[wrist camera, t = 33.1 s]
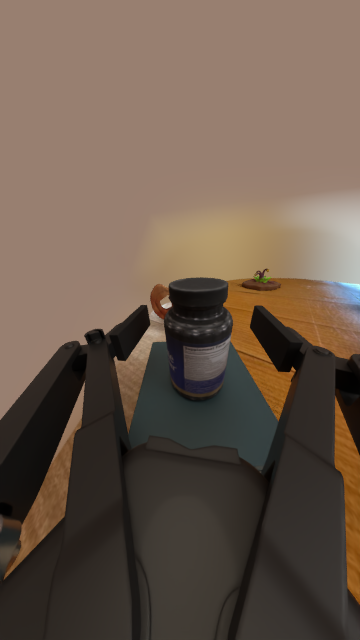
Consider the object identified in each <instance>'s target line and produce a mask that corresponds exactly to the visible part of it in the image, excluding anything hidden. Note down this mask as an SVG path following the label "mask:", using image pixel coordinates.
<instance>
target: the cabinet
mask: <svg viewBox="0 0 360 640" xmlns="http://www.w3.org/2000/svg"><path fill="white" fill-rule="evenodd" d="M277 426H278V420H277V419H276V417H275V415H274V414H273V412H272V410H271V408H270V407H269V405H268V403H267V402H266V400H265V398H264V397H263V395H262V393H261V392H260V390H259V388H258V387H257V385H256V383H255V382H254V380H253V378H252V377H251V375H250V373H249V372H248V370H247V368H246V367H245V365H244V363H243V362H242V360H241V358H240V357H239V355H238V353H237V352H236V350H235V348H234V347H233V345H232V343H231V342H230V344H229V351H228V357H227V364H226V370H225V376H224V383H223V386H222V388H221V390H220V391H219V392H218V394H216V395H215V396H214V397H212V398H210V399H207V400H190V399H187V398H185V397H183V396H182V395H180V393H179V392H178V391H177V390H176V389H175V388H174V386H173V385H172V382H171V376H170V368H169V360H168V351H167V343H166V342H153V344H152V347H151V351H150V355H149V359H148V362H147V366H146V370H145V374H144V377H143V381H142V385H141V389H140V392H139V396H138V400H137V404H136V407H135V411H134V415H133V419H132V422H131V426H130V430H129V434H128V437H129V441H130V444H131V448H134V447H136V446H137V445H140V444H142V443H146V442H147V441H148V437H149V435H151V436H158V437H164V438H170V439H172V440H174V441H175V442H177V443H179V444H181V445H183V446H185V447H187V448H189V449H196V448H201V447H207V446H212V445H217V446H224V447H230V448H237V449H238V454H239V457H241V458H243V459H244V460H246V461H247V462H249V463H250V464H251V465H253V466H254V467H255V468H256V469H257V470H258V471H262V469H263V467H264V464H265V462H266V459H267V456H268V453H269V450H270V447H271V444H272V441H273V438H274V435H275V432H276V429H277Z"/></svg>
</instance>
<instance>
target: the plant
mask: <svg viewBox="0 0 360 640" xmlns="http://www.w3.org/2000/svg"><path fill="white" fill-rule="evenodd" d="M265 270H266V271H267V272H269V269H265ZM265 270H264V271H263V273H261V272H260V271H257V272H256V274H255V276H256V275H257V274H259V275H260V277H259V276H257V277H254V278H255V280H254V279H251V280H248V281H245V282H243V283H242V286H243V287H246V288H249V289H255V290H275V289H277V288H280V286H281V284H279V283H277V282H275V281H268V279H270V278H271V277H269V278H266V276H264V272H265ZM258 272H260V273H258Z"/></svg>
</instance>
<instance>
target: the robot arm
mask: <svg viewBox="0 0 360 640" xmlns="http://www.w3.org/2000/svg"><path fill="white" fill-rule="evenodd" d="M149 326H150V319H149V314H148V308H147V305H141V306H140V307H139V308H138V309H137V310H135V311H134V312H133V313H132V314H131V315H130V316H129V317H128V318H127V319H126V320H125V321H124V322H122V323H120V324H118V325H116V326H115V327H114V328H113V329H112V330H111V331H110V332H109V333H107V334H106V335H104V332H103V330H102V329H94V330H92V331H89V332H87V333H86V334H85V335H84V336H85V338H86V340H87V343H88V344H87V345H80V343H79V342H78V341H72V342H68V343H65V344H64V345H62V346H61V347H60V348H59V349H58V351H57V352H56V353H55V354H54V355H53V357H52V358H51V359H50V360H49V362H48V363H47V364H46V365H45V366H44V368H43V369H42V370H41V371H40V373H39V374H38V375H37V376H36V377H35V379H34V380H33V381H32V382H31V383H30V385H29V386H28V387H27V388H26V390H25V391H24V392H23V393H22V394H21V396H20V397H19V398H18V399H17V400H16V402H15V403H14V404H13V405H12V407H11V408H10V409H9V410H8V412H7V413H6V414H5V415H4V416H3V418H2V419H1V420H0V640H360V604H359V603H358V602H357V600H356V599H355V598H354V596H353V595H352V594H351V592H350V591H349V590H348V588H347V563H346V531H345V499H344V481H343V476H342V474H341V472H339V471H338V470H337V469H336V468H335V464H334V448H335V396H336V398H337V401H338V403H339V406H340V408H341V411H342V413H343V415H344V418H345V420H346V423H347V425H348V428H349V430H350V433H351V435H352V437H353V440H354V442H355V445H356V447H357V450H358V452H359V455H360V354H353V355H352V356H351V357H350V359H344V358H340V357H335V355H334V354H333V353H332V352H331V351H329V350H327V349H325V348H322V347H319V346H313V345H312V344H311V343H309V342H308V341H307V340H306V339H305V338H303V337H302V336H301V335H300V334H299V333H297V332H296V331H295V330H294V329H292V328H290V327H285V326H284V325H283V324H282V323H281V322H280V321H279V320H278V319H276V318H275V317H274V316H273V315H272V314H271V313H270V312H269V311H268V310H266V309H265V308H264V307H263V306H254V311H253V315H252V320H251V324H250V328H251V330H252V331H253V333H254V334H255V336H256V338H257V339H258V341H259V342H260V344H261V345H262V347H263V348H264V350H265V352H266V353H267V355H268V356H269V358H270V359H271V361H272V362H273V364H274V366H275V367H276V369H277V370H278V372H290V370H291V368H292V366H293V368H294V369H295V370H296V371H295V373H294V375H293V377H292V379H291V385H290V388H289V392H288V395H287V398H286V401H285V404H284V407H283V410H282V413H281V416H280V419H279V422H278V426H277V429H276V432H275V435H274V438H273V441H272V444H271V447H270V450H269V453H268V456H267V459H266V462H265V464H264V467H263V469H262V471H261V473H260V472H259V471H258V470H257V469H256V468H255V467H254V466H253V465H251V464H250V463H249V462H247V461H246V460H244V459H243V458H241V457H239V454H238V449H237V448H230V447H224V446H217V445H212V446H207V447H201V448H196V449H189V448H187V447H185V446H183V445H181V444H179V443H177V442H175V441H174V440H172V439H170V438H164V437H158V436H151V435H149V437H148V441H147V442H146V443H142V444H140V445H137V446H136V447H134V448H131V444H130V441H129V437H128V432H127V427H126V421H125V416H124V410H123V405H122V399H121V394H120V389H119V383H118V378H117V372H116V367H115V362H114V357H115V356H116V357H117V359H118V360H119V361H126V360H127V358H128V357H129V355H130V354H131V352H132V351H133V349H134V348H135V347H136V345H137V344H138V342H139V341H140V339H141V338H142V336H143V335H144V333H145V332H146V330H147V329H148V327H149ZM84 381H85V390H84V402H83V415H82V426H81V429H79V430H77V431H76V433H75V436H74V443H73V451H72V460H71V468H70V477H69V486H68V494H67V503H66V511H65V517H64V518H63V519H62V520H61V521H60V522H59V523H58V524H57V525H56V526H55V527H54V528H53V529H52V530H51V531H50V532H49V534H48V535H47V536H46V537H45V538H44V539H43V540H42V541H41V542H40V543H39V544H38V545H37V546H36V547H35V548H34V549H33V550H32V551H31V552H30V553H29V554H28V555H27V557H26V558H25V559H24V560H23V561H22V562H21V563H20V564H19V565H18V566H17V567H16V568H15V569H14V570H13V571H12V572H11V573H10V574H9V575H8V576H7V577H6V578H5V579H4V577H5V573H6V572H7V571H8V570H9V568H10V567H11V566H12V565H13V563H14V562H15V560H16V558H17V556H18V554H19V551H20V548H21V541H20V540H19V539H20V535H21V530H22V524H23V522H24V520H25V518H26V516H27V514H28V512H29V511H30V509H31V507H32V505H33V503H34V501H35V499H36V497H37V495H38V492H39V490H40V488H41V486H42V484H43V481H44V479H45V477H46V474H47V472H48V469H49V467H50V464H51V462H52V459H53V457H54V455H55V452H56V450H57V447H58V445H59V442H60V440H61V437H62V435H63V433H64V430H65V428H66V425H67V423H68V420H69V418H70V415H71V413H72V410H73V408H74V405H75V403H76V401H77V398H78V396H79V394H80V391H81V389H82V386H83V384H84Z"/></svg>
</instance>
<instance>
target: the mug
mask: <svg viewBox="0 0 360 640" xmlns="http://www.w3.org/2000/svg"><path fill="white" fill-rule="evenodd" d="M167 295H169V288H167V287H165V286H163V285H161V284H157V285H156V286H155V287H154V288H153V290H152V292H151V296H150V297H151V298H150V299H151V304H152V308H153V310H154V312H155V313H156V314H157V315H158V316H159V317H160V318H162V319H164V318H165V315H166V313H167V312H168V310H169V309H170V308H172V307H173V304H172V307H170V308H168V309H165V308H163V307H162V306H161V304H160V300H162V299H163V298H164V297H166V296H167Z"/></svg>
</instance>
